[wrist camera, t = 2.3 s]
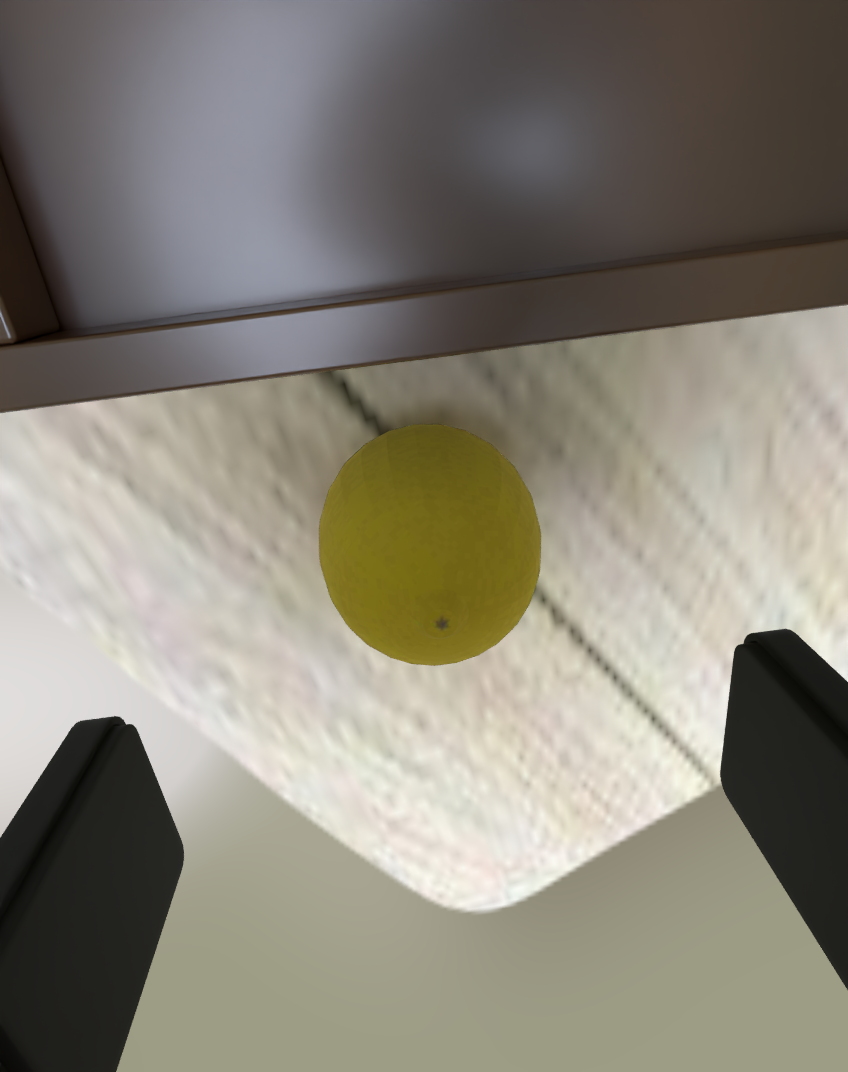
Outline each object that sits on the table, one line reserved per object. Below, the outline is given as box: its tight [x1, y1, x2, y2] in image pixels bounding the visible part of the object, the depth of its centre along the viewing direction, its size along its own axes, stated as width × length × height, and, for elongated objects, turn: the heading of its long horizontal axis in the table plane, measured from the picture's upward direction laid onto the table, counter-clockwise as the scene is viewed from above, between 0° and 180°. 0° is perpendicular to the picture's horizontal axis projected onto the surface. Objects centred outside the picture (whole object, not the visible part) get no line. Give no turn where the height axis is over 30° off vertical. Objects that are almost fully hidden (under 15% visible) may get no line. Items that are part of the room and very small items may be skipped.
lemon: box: [319, 424, 541, 666], centre depth 16 cm, size 6×6×8 cm
